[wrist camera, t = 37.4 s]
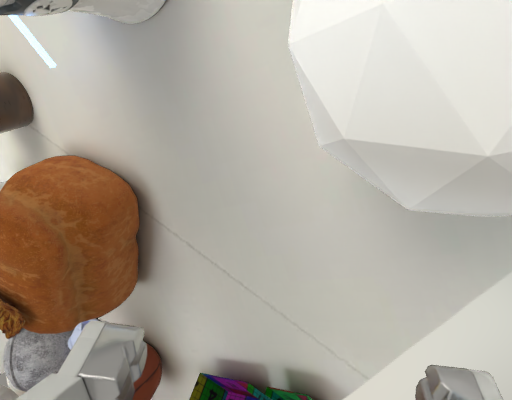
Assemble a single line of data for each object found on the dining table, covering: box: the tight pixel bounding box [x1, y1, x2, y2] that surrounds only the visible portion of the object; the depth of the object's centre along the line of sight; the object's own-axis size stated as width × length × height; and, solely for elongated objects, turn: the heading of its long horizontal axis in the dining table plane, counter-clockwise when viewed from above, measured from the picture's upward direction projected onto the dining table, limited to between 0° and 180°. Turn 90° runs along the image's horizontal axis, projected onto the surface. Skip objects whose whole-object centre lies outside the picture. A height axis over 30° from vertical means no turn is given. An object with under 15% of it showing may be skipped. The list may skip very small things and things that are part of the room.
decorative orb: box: [3, 328, 75, 392], centre depth 76 cm, size 15×14×15 cm
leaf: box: [0, 300, 25, 339], centre depth 44 cm, size 6×7×2 cm
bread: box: [0, 156, 139, 334], centre depth 50 cm, size 18×22×17 cm
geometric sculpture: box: [288, 0, 512, 216], centre depth 18 cm, size 19×20×20 cm
